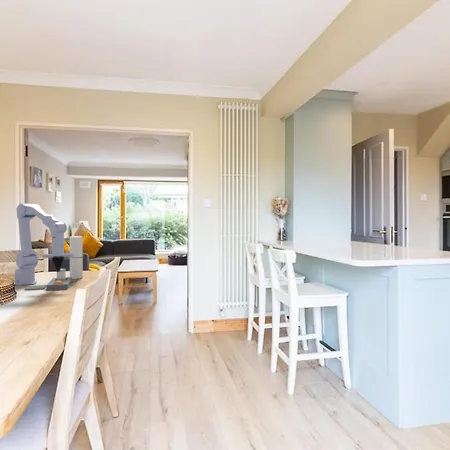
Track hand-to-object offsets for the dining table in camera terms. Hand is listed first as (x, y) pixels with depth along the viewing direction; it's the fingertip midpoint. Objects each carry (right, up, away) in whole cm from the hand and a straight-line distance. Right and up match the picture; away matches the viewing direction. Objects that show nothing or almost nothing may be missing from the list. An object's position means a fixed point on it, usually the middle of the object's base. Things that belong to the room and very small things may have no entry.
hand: (58, 271), depth 189 cm
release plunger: (0, -8, -1) cm, 8 cm away
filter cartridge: (-3, -8, +11) cm, 14 cm away
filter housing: (-2, -8, +6) cm, 10 cm away
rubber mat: (-11, -9, -1) cm, 14 cm away
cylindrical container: (-3, -8, +30) cm, 31 cm away
